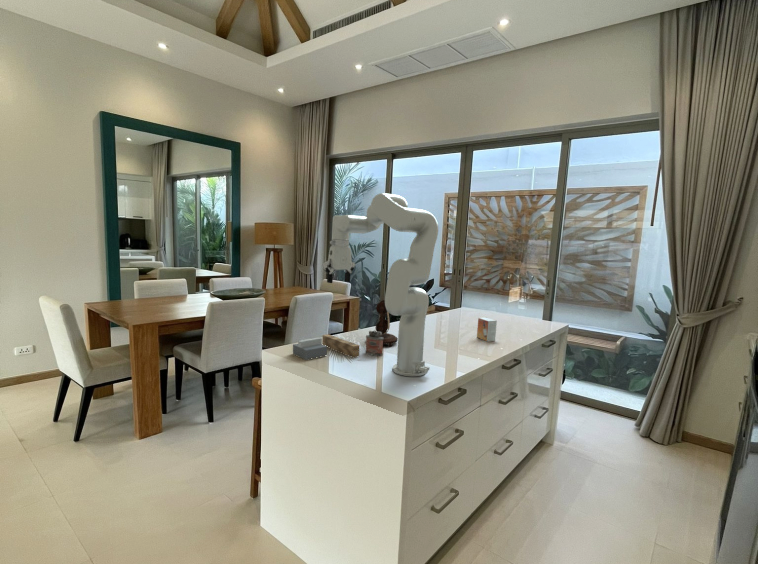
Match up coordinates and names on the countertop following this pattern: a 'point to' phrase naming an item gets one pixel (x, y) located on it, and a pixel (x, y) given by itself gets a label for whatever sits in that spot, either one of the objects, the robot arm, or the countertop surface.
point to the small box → (486, 329)
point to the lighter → (374, 343)
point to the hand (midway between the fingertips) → (338, 282)
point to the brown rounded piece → (384, 324)
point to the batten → (341, 345)
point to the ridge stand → (310, 348)
